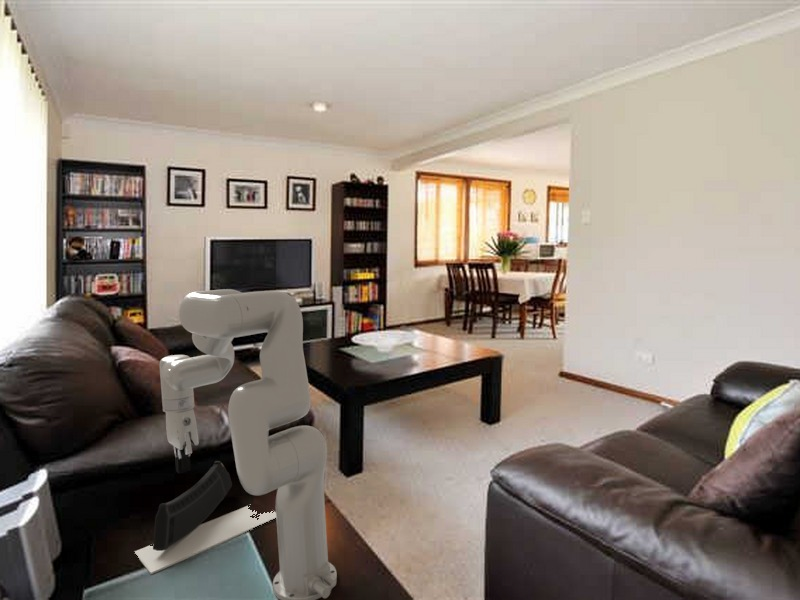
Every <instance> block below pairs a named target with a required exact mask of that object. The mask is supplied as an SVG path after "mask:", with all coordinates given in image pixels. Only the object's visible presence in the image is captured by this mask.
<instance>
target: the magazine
mask: <svg viewBox="0 0 800 600" xmlns="http://www.w3.org/2000/svg"><path fill="white" fill-rule="evenodd" d="M232 486H233V483H232V479H231V476H230V472H228V470H227V469H226V466H224V464H223V462H221V461H220V460H215V461H214V462H213V465H212V466H211V467H210V468H209V469H208V471H207V472H206V473H205V474H204V475H203V476H202V477H201V478H200V479H199V480H198V482H196V483H195V484H194V485H192V487H190V488H189V489H187V490H186V491H185V492H183V493H182V494H180V495H179V496H177V497H175V498H174V499H172V500H170V501H168V502H165V503H164V502H162V503H160V504H159V506H158V511H157V512H156V514H155V516H154V517H155V519H154V531H153V540H152V541H153V543H152V544H153V550H156V551H163V550H166V549H167V548H168V547H170V546H171V545H173V544H174V543H176V542H177V541H179V540H180V539H182V538H183V537H185V536H186V535H188V534H189V533H190V532H192V531H193V530H194V529H195V528H197V527H198V526H199V525H201V524H203V522H205V521H206V519H208V518H209V517H210V515H211V514H212V513H213V512H214V511H215V510H216V508H217V507H218V506H219V505H220V504H221V502H222V501H224V500H225V499H224V498H225V497H226V496H227V495H228V493H229V491H230V489H231V488H232Z"/></svg>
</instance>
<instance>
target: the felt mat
mask: <svg viewBox="0 0 800 600" xmlns="http://www.w3.org/2000/svg"><path fill="white" fill-rule="evenodd" d="M249 507H250V506H249ZM249 507H248V505H246V506H244V507H241V508H239V509H237V510H234V511H231V512H229V513H225V514H223V515H221V516H219V517H216V518H214V519H211V520H209V521H206V522H204V523H201V524H200V525H199V526H198V527H197V528H195V529H194V530H193V531H192V532H190V533H189V534H188V535H186V536H185V537H183V538H182V539H180V540H179V541H177V542H176V543H174V544H173V545H171V546H170V547H168V548H167V549H166V550H163V551H156V550H153V546H150V545H151V544H150V545H147V546H145V547H143V548H140V549H137V550H134V552H135V553H134V555H135V554H136V555H137V556H138V557H137V556H136V555H135V556H136V557H137V558H139V559H138V560H139V562H140V563H141V564H142V565H143V566H144V567H145V568H146V570H147V571H148V573H149V574H150V575H153V574H156V573H157V572H160V571H163V570H164V569H166V568H169V567H171V566H173V565H176V564H178V563H180V562H182V561H185V560H186V559H187V560H188V559H189V558H191V557H194V556H196V555H198V554H200V553H203V552H205V551H207V550H209V549H212V548H214V547H216V546H219V545H221V544H223V543H225V542H227V541H230V540H233V539H234V538H236V537H239V536H241V535H243V534H246V533H248V532H250V531H252V530H254V529H253V528H255V527H257V526H259V525H261V526H263V525H262V524H264V523H266V522H268V523H270V522H271V521H270V520H273V519H275V518H276V510H273V511H274V512H273V511H271V512H270V513H269V512H267V513H265V512H264V513H263V514H261V513H260V514H258V515H260V516H259V517H257V518H259V519H258V520H257V518H255V517H256V516H255V515H256V514H257V511H256V512H255V510H254V511H253V512H252V510H250V509H248V508H249ZM272 512H273V513H272ZM253 514H255V515H253ZM252 515H253V516H255V517H254V518H252V517H250V516H252ZM258 515H257V516H258ZM275 520H276V519H275ZM269 521H270V522H269ZM273 521H274V520H273ZM266 524H267V523H266ZM264 525H265V524H264ZM259 527H260V526H259ZM257 528H258V527H257ZM255 529H256V528H255ZM249 530H250V531H249ZM247 531H248V532H247ZM245 532H246V533H245Z"/></svg>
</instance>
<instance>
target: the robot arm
mask: <svg viewBox="0 0 800 600" xmlns="http://www.w3.org/2000/svg"><path fill="white" fill-rule="evenodd" d="M178 319H179V321H180V325H181V326H182V327H183V329H185V330H186V331H187V332H189V333H191V334H192V335H191V339H192V343H193V345H194V346H195V348H197V350H199V351H200V352H201V353H203V354H202V355H197V356H193V357H190V356H189V355H185V354H174V355H173V354H171V355H167V356H164V357H163V358H161V359H160V361H159V375H160V377H159V378H160V389H161V403H162V412H163V413H165V430H166V431H165V432H166V438H167V439H166V440H167V442H168V443H169V444H170V445H171V446H173V452H174V457H175V458H174V461H175V472H176V473H178V474H180V475H181V474H183V473H187V472H191V470H192V467H191V464H192V463H191V454H192V453H193V450H192V449H193V448H192V445H193V446H194V447H195V446H199V442H200V441H199V434H198V433H199V432H198V427H197V418H196V413H195V411H194V408H195V394H194V389H196V388H199V387H203V386H208V385H212V384H217V383H218V382H221V381H222V380H223V379H224V378H226V376H227V375H228V374H229V372H230V371H231V369H232V368H233V365H234V363H235V349H234V345H233V344H232V342H233V340H234V338H240V337H246V336H251V335H257V334H263V333H267V335H266V336H265V338H264V340H263V342H262V344H261V348H260V350H259V362H260V369H261V378H260V379H256V380H253V381H252V380H251V381H249V382H246V383H245V382H244V383H243V384H241V385H239V386H237V388H235V389H234V390H233V391H232V393H231V395H230V398H229V402H228V408H227V411H228V412H227V415H228V423H229V424H228V425H229V429H230V436H231V442H232V449H233V455H234V461H235V468H236V474H237V476H238V479H239V480H238V481H239V482H240V484H241V486H242V488H243V490H245V492H246V493H248V494H249V495H252V496H263V495H266V494H268V493H271V492H273V491H275V490H276V496H275V512H276V519H275V520H276V532H277V536H276V537H277V547H278V561H279V564H278V565H279V571H278V572H276V575H275V576H274V578H273V581H272V591H273V594H274V595H275V597H276V598H277V599H279V600H319V599H321V598H323V599H327V598H328V597H329V596H330V595H331V593H332V590H333V588H334V587H335V586H336V585H337V581H338V580H337V578H338V576H337V575H338V574H337V569H336V567H335V565H333V564H332V563H331V562H329V555H328V537H327V523H326V522H327V521H326V508H325V506H326V504H325V471H326V470H325V469H326V465H327V464H326V462H327V457H328V453H327V450H328V449H327V442H326V440H325V437H324V435H323V434H322V432H321V431H320V430H319V429H318V428H316V427H315V426H310V425H298V426H297V425H296V426H294V427H293V426H292V427H290V428H287V429H285V430H282V431H279V432H276V433H274V434H272V435H269V431H270V430H273V429H275V428H278V427H282V426H284V425H287V424H290V423H293V422H295V421H297V420H299V419H301V418H303V417H305V416H306V415H308V413H309V411H310V410H311V404H312V403H311V393H310V392H311V391H310V385H309V379H308V372H307V371H308V370H307V366H306V359H305V355H304V354H305V353H304V344H303V343H304V341H303V338H304V337H303V336H304V335H303V333H304V321H303V314H302V310H301V308H300V305H299V304H298V301H296V299H295V298H294V297H293V296H292V295H290V294H288V293H286V292H284V291H278V290H264V291H263V290H262V291H252V292H241V291H239V290H236V289H232V288H226V289H225V288H223V289H214V290H213V289H211V290H199V291H193V292H190V293H188V294H187V295H185V296H184V298H183V299H182V301H181V303H180V306H179V309H178Z"/></svg>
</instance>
